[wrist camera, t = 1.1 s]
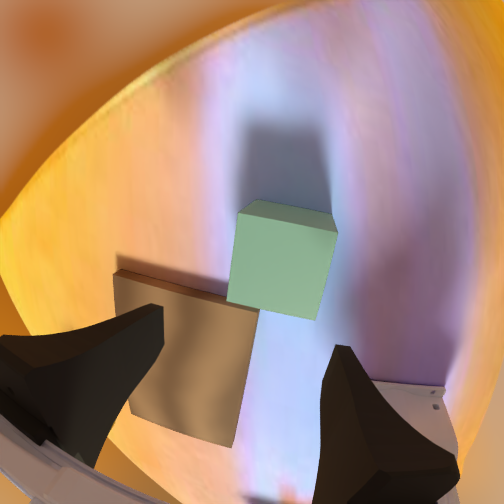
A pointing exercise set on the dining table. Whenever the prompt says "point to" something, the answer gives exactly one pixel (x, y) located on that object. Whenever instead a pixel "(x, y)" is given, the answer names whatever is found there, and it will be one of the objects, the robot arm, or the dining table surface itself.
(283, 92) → the dining table surface
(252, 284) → the block
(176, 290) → the board
